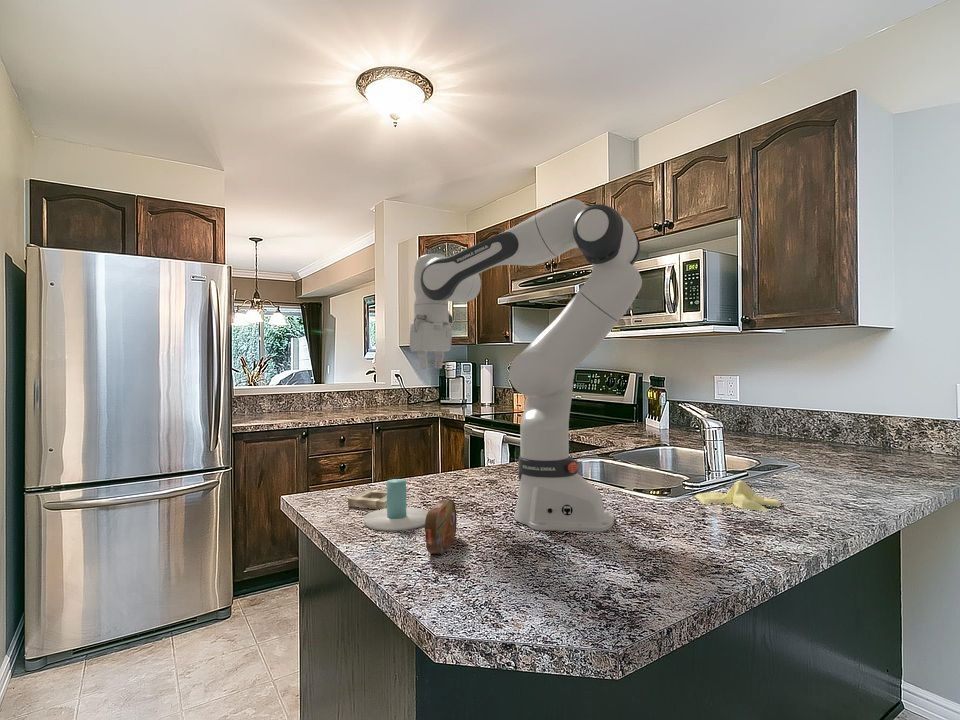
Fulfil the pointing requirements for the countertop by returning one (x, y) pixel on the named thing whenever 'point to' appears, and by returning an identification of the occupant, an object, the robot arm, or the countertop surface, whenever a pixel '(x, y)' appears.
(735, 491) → the cloth
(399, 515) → the peg
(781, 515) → the countertop surface
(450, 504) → the tin
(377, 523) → the round white disc
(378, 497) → the pocket block
